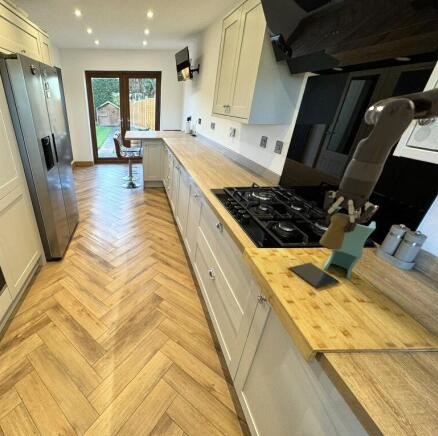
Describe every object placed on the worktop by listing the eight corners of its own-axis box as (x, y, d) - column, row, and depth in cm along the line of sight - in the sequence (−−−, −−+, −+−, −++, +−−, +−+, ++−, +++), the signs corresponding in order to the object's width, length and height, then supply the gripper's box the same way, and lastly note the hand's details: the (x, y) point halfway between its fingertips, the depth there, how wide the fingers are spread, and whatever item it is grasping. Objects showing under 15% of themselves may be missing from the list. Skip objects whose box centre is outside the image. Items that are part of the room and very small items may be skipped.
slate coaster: (309, 263, 91) (310, 262, 91) (338, 282, 82) (339, 280, 82) (288, 268, 88) (289, 267, 88) (315, 288, 79) (316, 287, 78)
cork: (345, 248, 76) (360, 218, 71) (332, 250, 74) (346, 220, 70) (328, 239, 81) (341, 210, 76) (315, 241, 80) (327, 211, 75)
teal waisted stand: (351, 268, 89) (375, 222, 80) (349, 278, 84) (375, 229, 75) (326, 259, 94) (347, 214, 85) (323, 268, 88) (345, 221, 80)
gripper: (399, 182, 63) (370, 237, 70) (343, 169, 75) (324, 217, 82) (381, 184, 60) (353, 240, 68) (327, 170, 73) (308, 219, 80)
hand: (337, 227), depth 75 cm, fingers closed on cork, 5 cm apart
